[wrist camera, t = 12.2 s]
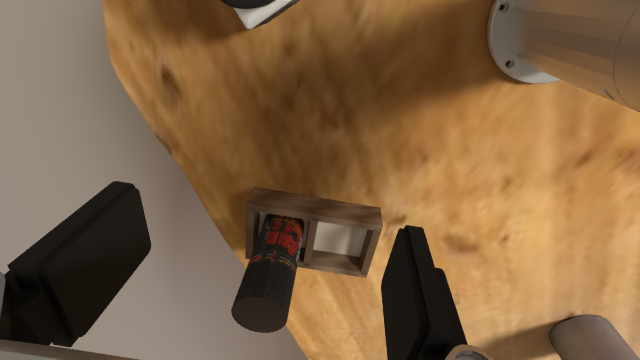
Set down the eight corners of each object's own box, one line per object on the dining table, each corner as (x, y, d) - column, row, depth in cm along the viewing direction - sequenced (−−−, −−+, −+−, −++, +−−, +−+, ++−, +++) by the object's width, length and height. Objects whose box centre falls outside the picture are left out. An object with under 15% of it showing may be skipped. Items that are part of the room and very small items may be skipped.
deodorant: (309, 236, 46) (294, 329, 34) (273, 243, 48) (245, 335, 35) (296, 204, 44) (274, 293, 31) (257, 212, 45) (221, 301, 32)
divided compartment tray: (380, 207, 44) (382, 226, 41) (364, 259, 50) (365, 279, 46) (254, 187, 44) (246, 203, 41) (252, 241, 49) (245, 259, 46)
